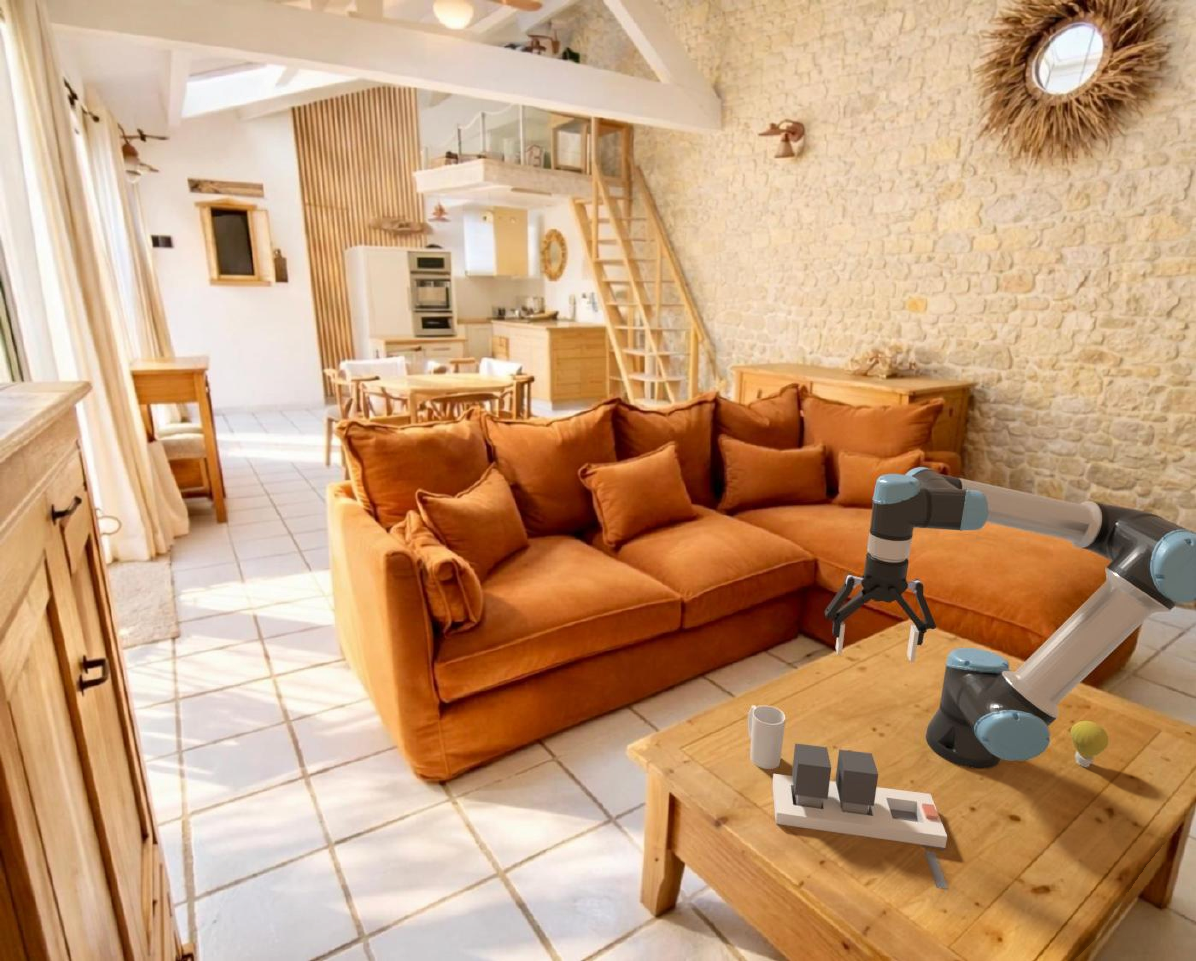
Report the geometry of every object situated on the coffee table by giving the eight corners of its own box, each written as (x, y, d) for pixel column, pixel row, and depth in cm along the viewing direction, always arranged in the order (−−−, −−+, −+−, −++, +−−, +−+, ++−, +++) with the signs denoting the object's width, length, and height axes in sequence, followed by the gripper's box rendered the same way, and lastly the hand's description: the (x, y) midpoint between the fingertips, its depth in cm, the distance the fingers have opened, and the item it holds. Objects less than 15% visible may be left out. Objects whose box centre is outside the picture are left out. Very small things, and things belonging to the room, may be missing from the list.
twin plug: (820, 798, 136) (827, 747, 133) (824, 821, 130) (831, 767, 127) (789, 794, 137) (795, 743, 134) (792, 816, 131) (797, 763, 128)
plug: (864, 805, 134) (871, 753, 131) (870, 828, 128) (878, 774, 125) (832, 801, 135) (839, 749, 132) (837, 823, 130) (844, 770, 126)
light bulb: (1097, 758, 150) (1107, 719, 147) (1104, 777, 144) (1115, 737, 141) (1061, 750, 153) (1070, 711, 150) (1067, 768, 147) (1076, 728, 144)
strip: (927, 808, 135) (931, 790, 134) (944, 852, 124) (948, 832, 123) (771, 788, 140) (773, 770, 139) (775, 828, 130) (777, 809, 128)
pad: (934, 854, 124) (934, 852, 124) (947, 891, 116) (948, 888, 116) (887, 848, 125) (888, 845, 125) (898, 884, 118) (898, 881, 117)
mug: (787, 768, 146) (792, 720, 143) (761, 777, 143) (765, 727, 140) (758, 741, 155) (762, 694, 151) (733, 748, 152) (737, 701, 149)
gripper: (951, 553, 131) (935, 651, 137) (817, 543, 136) (807, 639, 141) (964, 568, 124) (947, 671, 130) (822, 557, 129) (811, 657, 134)
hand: (874, 654), depth 136 cm, fingers open, 13 cm apart
